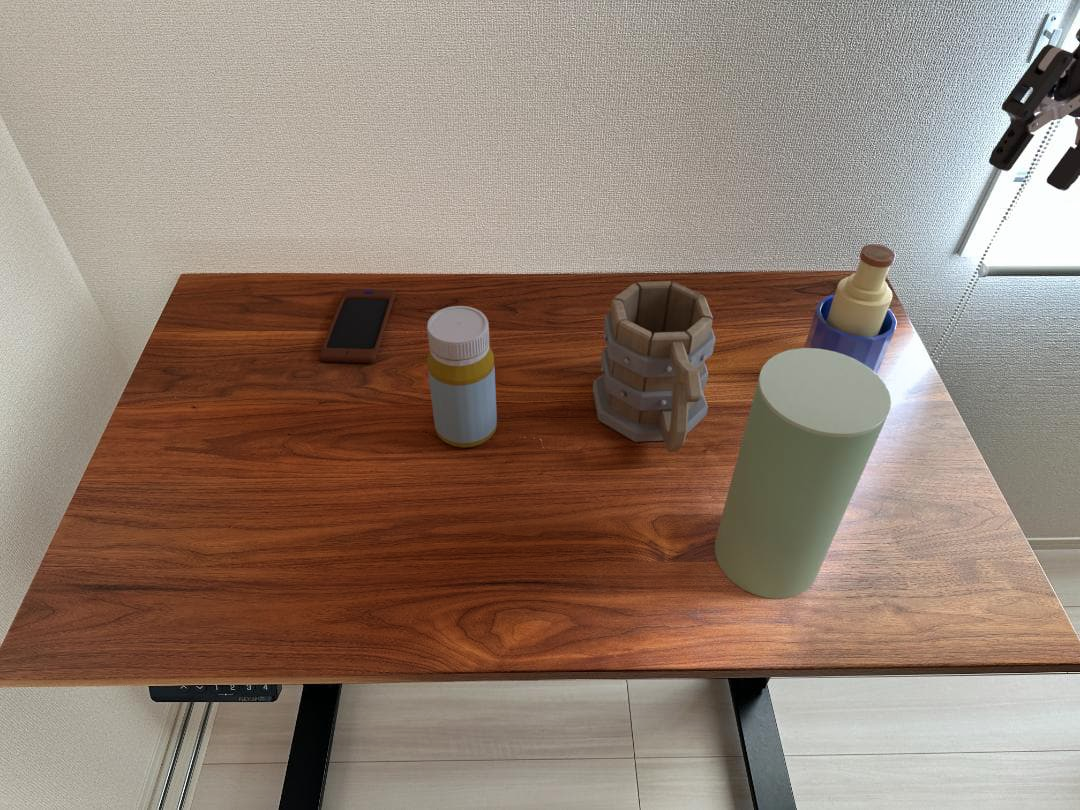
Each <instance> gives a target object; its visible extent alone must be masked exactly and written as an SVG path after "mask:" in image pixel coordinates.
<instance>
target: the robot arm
mask: <svg viewBox="0 0 1080 810" xmlns="http://www.w3.org/2000/svg"><path fill="white" fill-rule="evenodd" d="M1075 40H1076V41H1077V42H1078V46H1076V47H1075V49H1074V50H1073V51H1072V52H1070V51H1068V50H1065V49H1063V48H1061V47H1057V46H1055V45H1052V44H1049V43H1048V44H1045V46H1043V47H1042V48H1041V50H1040V51H1039V52H1038V54H1037V55H1036V56H1035V58H1034V59H1033V61H1032V62H1031V63H1030V65H1029V66H1028V68H1027V69H1026V71H1025V72H1024V74H1023V75H1022V76H1021V77H1020V78H1019V80H1018V81H1017V83H1016V85H1014V87H1013V88H1012V89H1011V91H1010V93H1009V94H1008V96H1007V97H1006V98H1005V100H1004V101H1003V102H1002V105H1001V110H1002V111H1003V112H1005V113H1006V114H1007V115H1008V117H1009V121H1010V124H1009V126H1008V127H1007V129H1006V130H1005V131H1004V133H1003V135H1002V136H1001V137H1000V139H999V141H998V142H996V145H995V146H994V147H993V149H992V151H991V154H990V157H989V159H988V163H989V164H990V165H991V166H993V167H995V168H997V169H998V170H1000V171H1003V172H1009V171H1010V170H1011V169H1012V168H1013V166H1014V165H1015V164H1016V162H1017V161H1018V160H1019V158H1020V157H1021V155H1022V154H1023V153H1024V151H1025V150H1026V149H1027V147H1028V145H1029V144H1030V142H1031V141H1032V140H1033V138H1034V137H1035V134H1034V133H1035V132H1036V131H1038V130H1040V129H1041V128H1043V127H1044V126H1046V125H1047V124H1048V123H1051V121H1054V120H1062V119H1063V118H1065V117H1067V116H1069V117H1072V118H1074V124H1075V125H1076V127H1077V130H1076V135H1075V140H1074V146H1071V145H1070V146H1069V148H1068V149H1067V150H1066V151H1065V153H1064V155H1063V156H1062V157H1061V158H1060V160H1059V161H1058V162H1057V164H1056V165H1055V166H1054V168H1053V169H1052V171H1051V172H1050V173H1049V175H1048V176H1047V178H1046V183H1047V184H1048V185H1050V186H1051V187H1053V188H1055V189H1056V190H1059V191H1063V192H1065V191H1068V190H1069V189H1070V187H1071V186H1072V185H1073V184H1074V183H1075V182H1077V180H1078V179H1079V177H1080V28H1079V29H1078V30H1077V32H1076V33H1075ZM1030 90H1032V92H1031V93H1030V94H1029V96H1027V98H1026V100H1025V101H1024V102H1022V100H1023V99H1024V97H1025V96H1026V95H1027V93H1028V92H1029V91H1030ZM1036 113H1037V114H1036ZM1035 114H1036V115H1035Z"/></svg>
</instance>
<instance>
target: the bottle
mask: <svg viewBox="0 0 1080 810" xmlns="http://www.w3.org/2000/svg"><path fill="white" fill-rule="evenodd" d="M426 330H427V340H428V345H429V351H428V355H427V358H426V359H427V361H426V362H427V363H426V365H427V372H428V373H427V374H428V382H429V390H430V391H429V392H430V398H431V406H432V415H433V423H434V428H435V429H434V430H435V432H436V434H437V436H438V438H440V439H441V441H443V442H444V443H446V444H448V445H450V446H453V447H456V448H461V449H465V448H466V449H467V448H474V447H477V446H480V445H482V444H483V443H485V442H487V441H488V440H490V438H491V437H493V436H494V434H495V432H496V431H497V427H498V415H497V413H498V412H497V391H496V370H495V356H494V352H493V351H492V348H491V346H490V328H489V320H488V318H487V317H486V314H484V313H483V312H482V311H481V310H479V309H477V308H474V307H471V306H465V305H453V306H452V305H451V306H447V307H444V308H442V309H440V310H438V311H436V312H435V313H433V314H432V315H431V316H430V318H429V319H428V320H427V325H426Z"/></svg>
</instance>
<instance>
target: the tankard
mask: <svg viewBox="0 0 1080 810" xmlns="http://www.w3.org/2000/svg"><path fill="white" fill-rule="evenodd" d="M603 318H604V321H603V340H604V341H605V346H606V347H605V348H603V349H602V350H601V357H600V367H601V369H600V372H601V375H600V376H598V377H597V378H596V379H595V380H593V382H592V393H593V398H594V404H595V409H596V410H595V411H596V416H597V420H598V421H599V422H601V423H602V424H604V425H605V426H607V427H609V428H610V429H612V430H614V431H616V432H618V433H620V434H621V435H623V436H624V437H626V438H627V439H629V440H631V441H633V442H635V443H639V442H641V443H642V442H660V441H661V442H662V441H663V443H664V446H665V449H666V451H667V452H668V453H678V452H679V450H681V449H682V447H683V446H684V444H685V443H686V437H687V435H688V434H689V433H690V432H691V431H692V430H693V429H694V428H695V427H696V426H697V425H698V424H699V423H700V422H701V421H703V419H704V418H705V417H706V416H707V413H708V410H709V406H708V403H707V399H706V397H705V394H704V390H705V389H706V387H707V381H708V378H709V372H708V369H707V365H706V363H705V362H706V360H708V359H709V358H710V357H712V355H713V353H714V348H715V345H716V337H715V336H716V335H715V334H714V330H713V328H712V327H713V321H714V317H713V314H712V312H711V308H710V307H709V303H708V301H707V299H706V297H705V296H704V295H703V294H701V293H699V292H698V291H695V290H693V289H690V288H689V287H686V286H684V285H682V284H680V283H678V282H675V281H672V283H671V281H670V280H663V281H662V280H660V281H658V280H657V281H637V282H636V283H635V282H634V283H632V284H631V285H629V286H628V287H627V288H625V289H624V290H622V291H621V292H620V293H618V294H617V295H616V296H614V297H613V298H612V300H611V305H610V312H609V313H607V314H606V315H605V316H604V317H603Z"/></svg>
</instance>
